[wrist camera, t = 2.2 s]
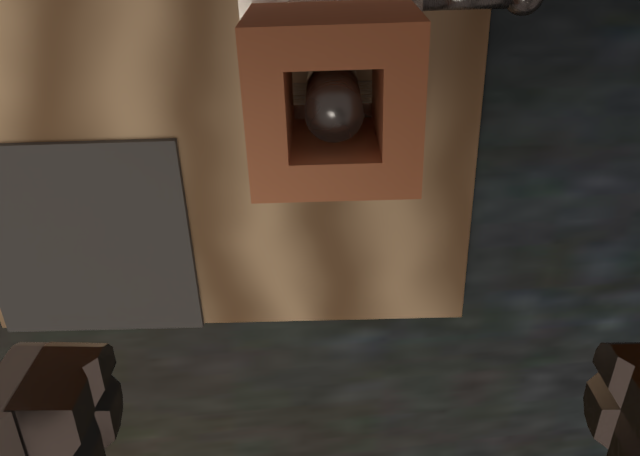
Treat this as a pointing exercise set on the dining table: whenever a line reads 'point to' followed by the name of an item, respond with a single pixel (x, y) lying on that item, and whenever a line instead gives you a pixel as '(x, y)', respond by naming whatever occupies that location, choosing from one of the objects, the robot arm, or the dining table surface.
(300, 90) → the vise
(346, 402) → the dining table surface
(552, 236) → the dining table surface
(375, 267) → the oak board
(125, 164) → the slate mat
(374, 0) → the collar
